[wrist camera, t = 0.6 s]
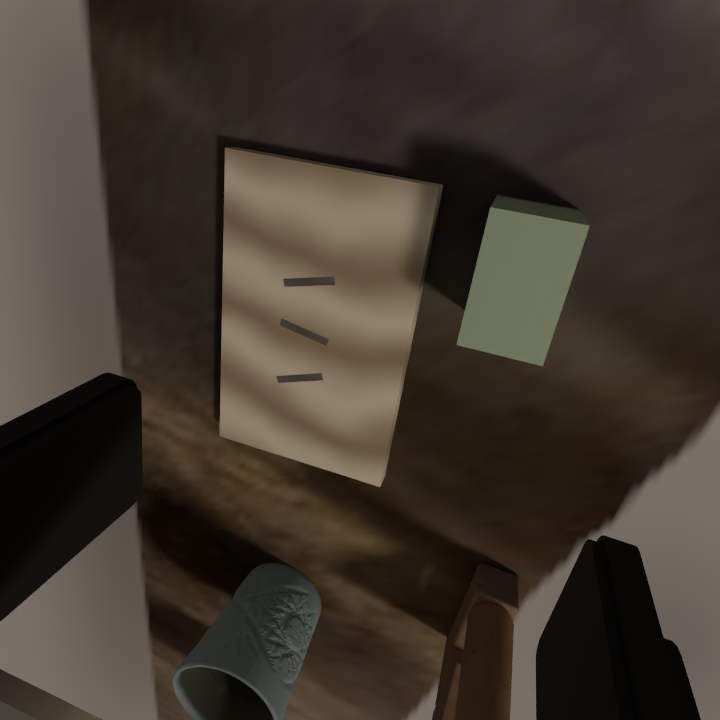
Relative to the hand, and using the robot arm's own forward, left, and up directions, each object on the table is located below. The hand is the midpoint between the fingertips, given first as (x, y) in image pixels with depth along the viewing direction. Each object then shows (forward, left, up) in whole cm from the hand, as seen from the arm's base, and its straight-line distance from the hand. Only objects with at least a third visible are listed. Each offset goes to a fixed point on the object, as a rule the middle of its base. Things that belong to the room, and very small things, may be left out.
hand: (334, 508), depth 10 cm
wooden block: (+32, +8, -27) cm, 43 cm away
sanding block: (+1, +3, -27) cm, 27 cm away
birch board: (+9, -10, -27) cm, 30 cm away
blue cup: (+40, -11, -27) cm, 49 cm away
